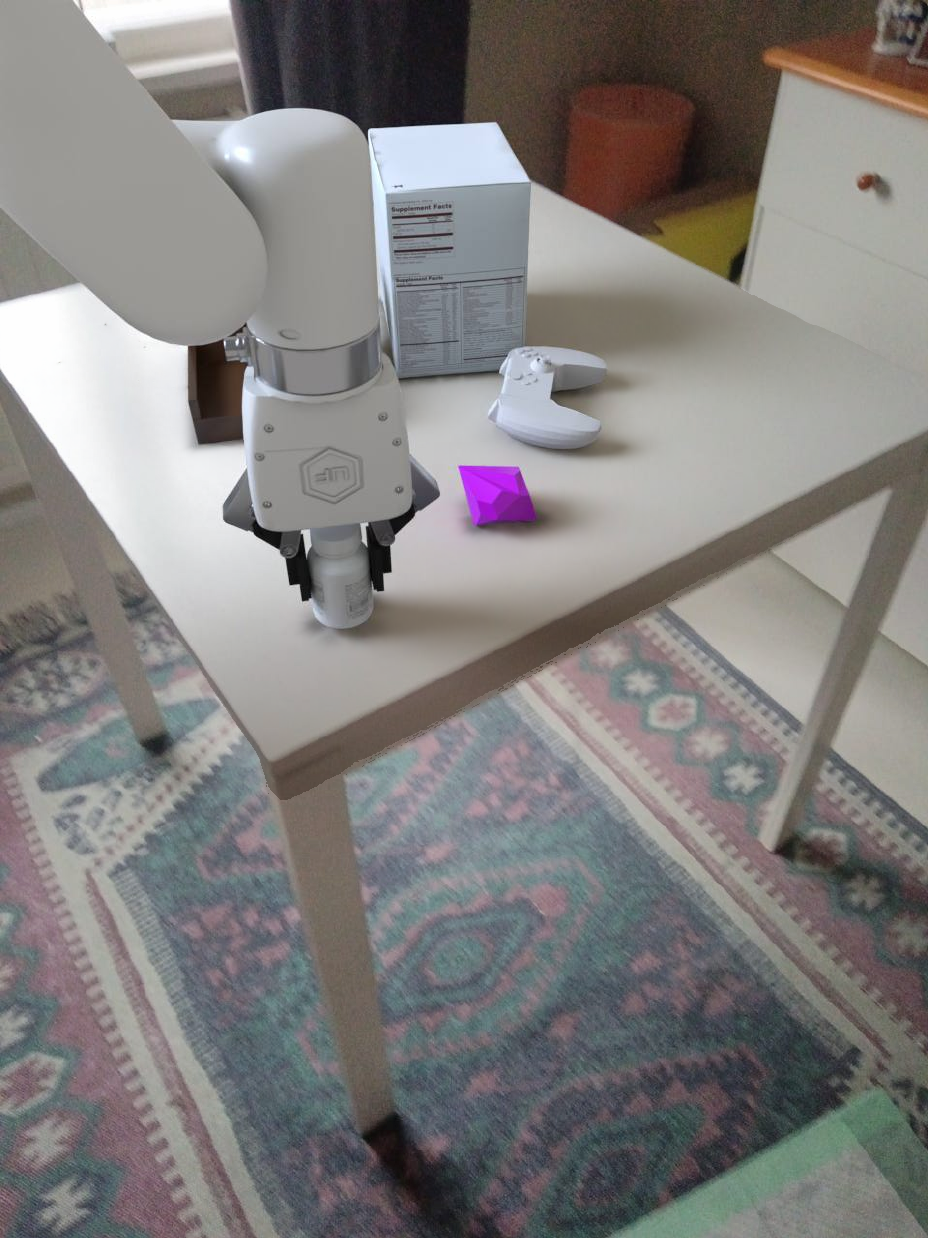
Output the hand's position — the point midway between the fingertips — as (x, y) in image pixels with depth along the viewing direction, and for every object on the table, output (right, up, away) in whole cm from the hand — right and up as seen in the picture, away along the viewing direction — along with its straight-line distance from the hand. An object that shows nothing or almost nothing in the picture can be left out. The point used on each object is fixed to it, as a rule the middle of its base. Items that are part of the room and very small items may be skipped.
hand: (340, 581), depth 69 cm
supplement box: (+7, +27, +33) cm, 43 cm away
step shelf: (-10, +20, +25) cm, 34 cm away
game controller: (+17, +16, +22) cm, 32 cm away
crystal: (+12, +6, +11) cm, 17 cm away
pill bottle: (0, -2, +2) cm, 3 cm away
